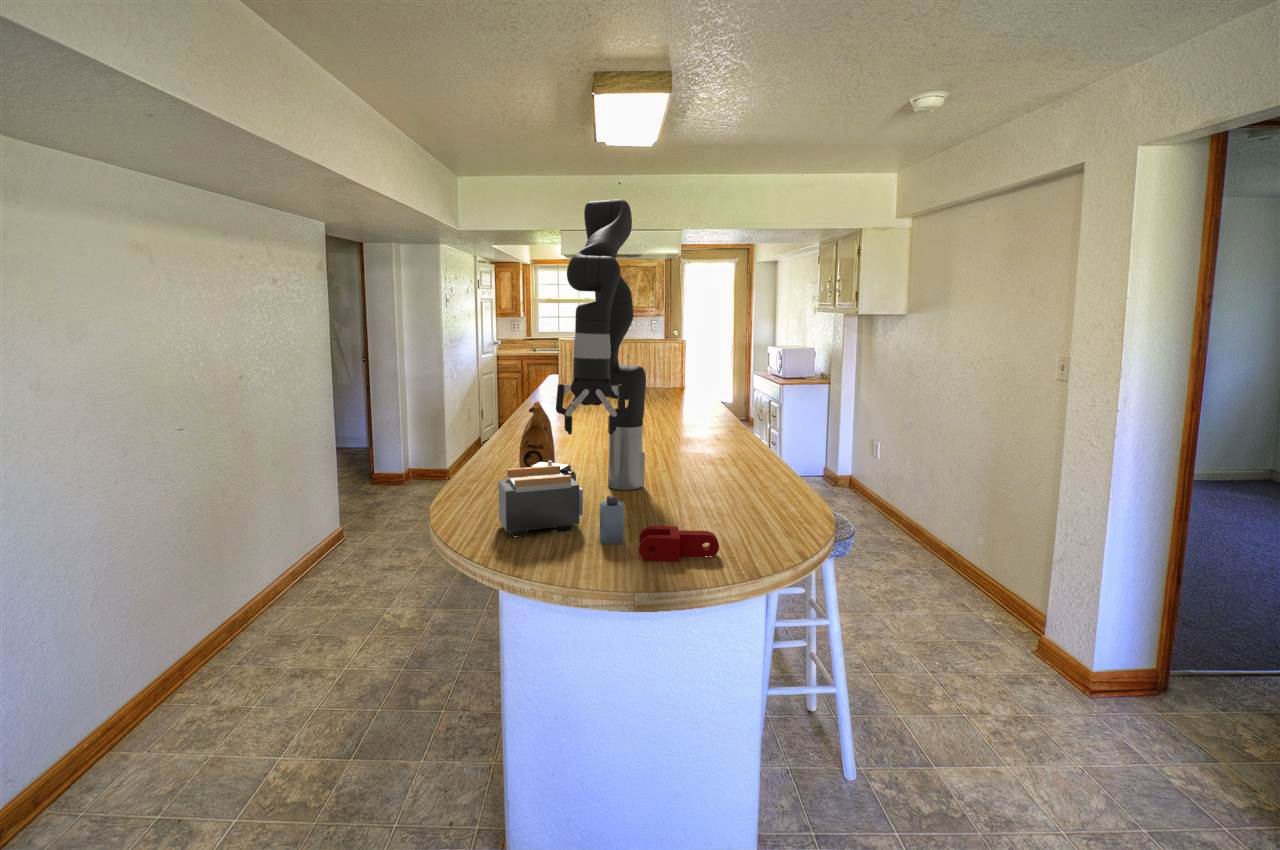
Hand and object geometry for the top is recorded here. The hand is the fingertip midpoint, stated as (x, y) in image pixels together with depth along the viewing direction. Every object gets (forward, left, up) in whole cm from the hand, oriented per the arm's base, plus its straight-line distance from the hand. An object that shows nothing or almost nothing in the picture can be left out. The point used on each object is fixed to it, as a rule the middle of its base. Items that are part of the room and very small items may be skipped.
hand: (590, 433), depth 137 cm
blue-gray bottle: (-4, +3, -23) cm, 23 cm away
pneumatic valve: (+3, -22, -23) cm, 32 cm away
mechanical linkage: (-14, +15, -23) cm, 31 cm away
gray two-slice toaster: (+9, -9, -23) cm, 26 cm away
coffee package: (+1, -46, -23) cm, 51 cm away
